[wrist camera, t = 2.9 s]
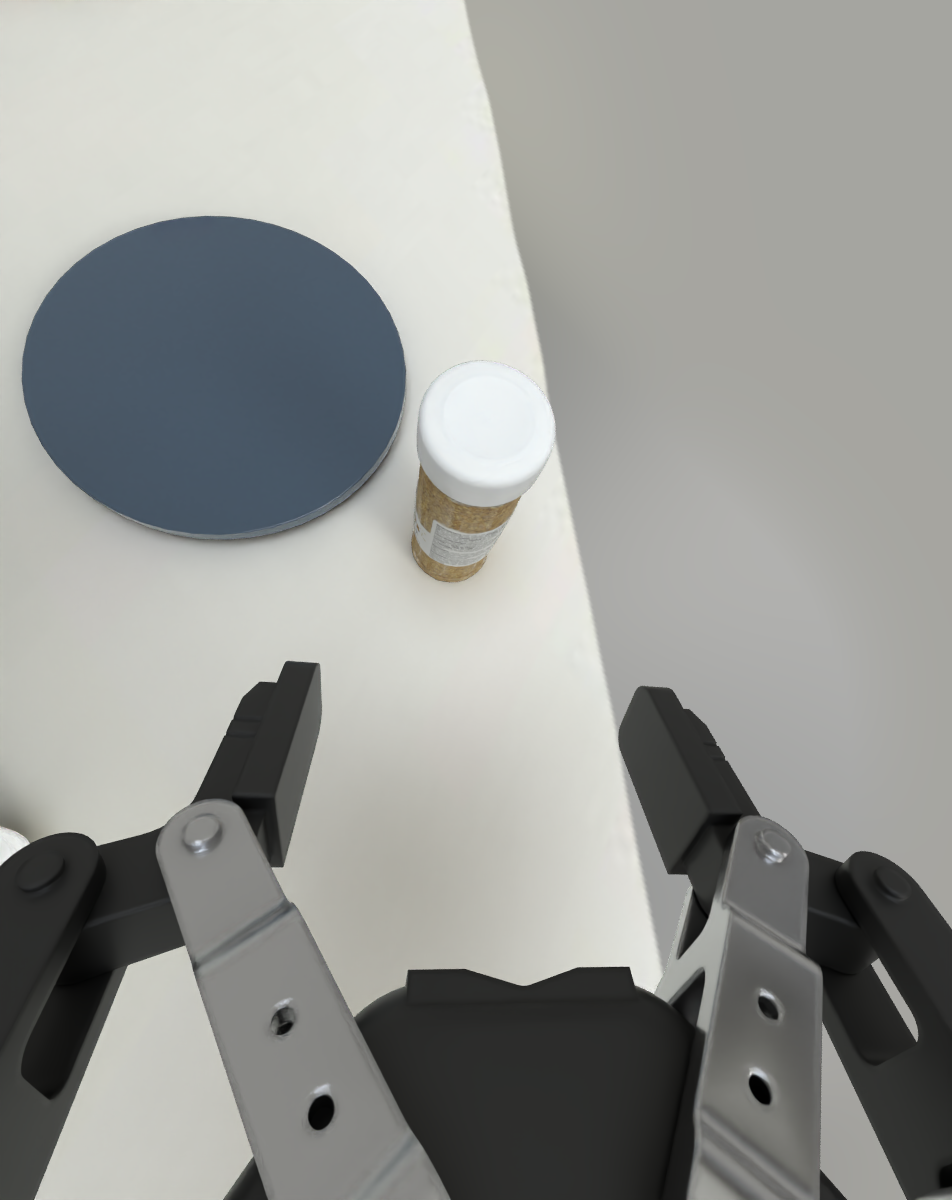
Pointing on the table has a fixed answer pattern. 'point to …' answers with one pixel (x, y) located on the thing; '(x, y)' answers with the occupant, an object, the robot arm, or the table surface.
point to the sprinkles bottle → (475, 462)
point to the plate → (214, 377)
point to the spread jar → (10, 843)
